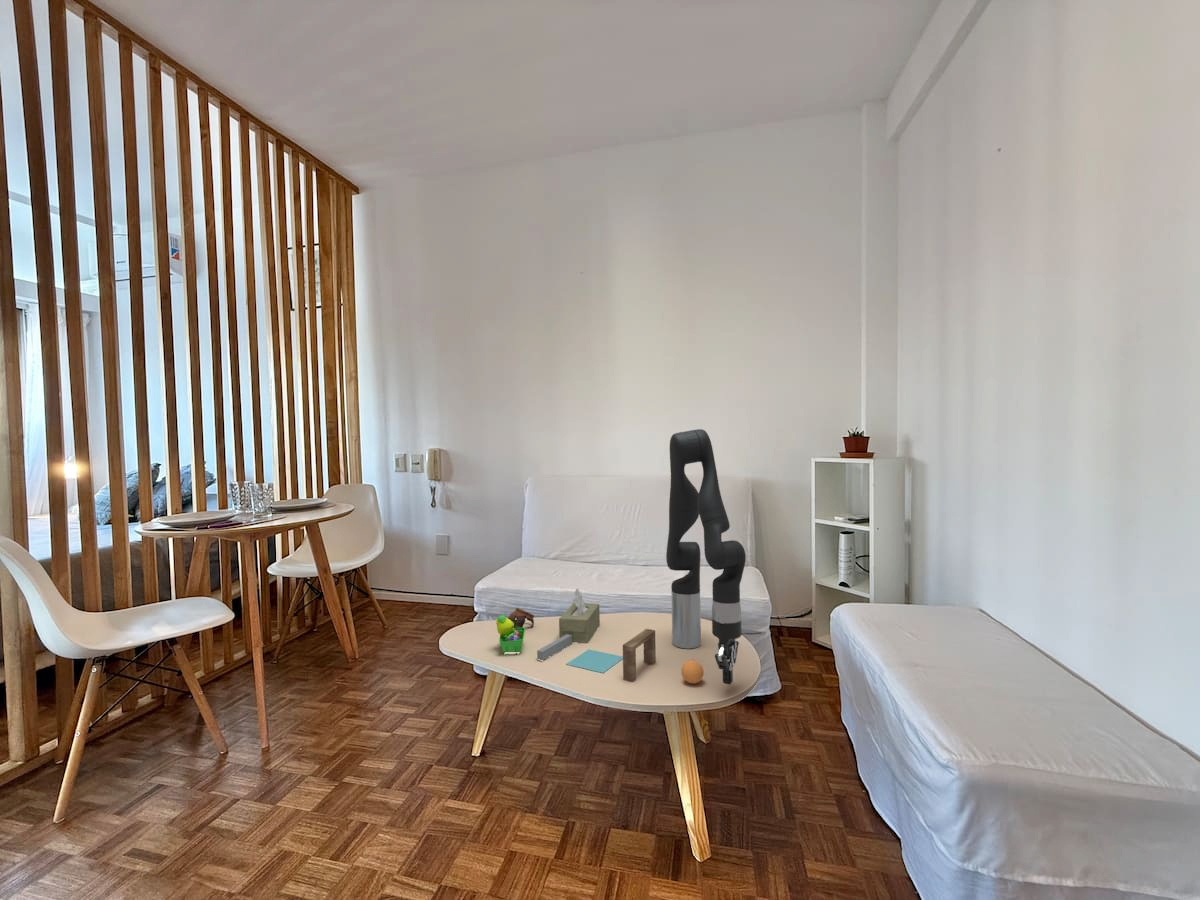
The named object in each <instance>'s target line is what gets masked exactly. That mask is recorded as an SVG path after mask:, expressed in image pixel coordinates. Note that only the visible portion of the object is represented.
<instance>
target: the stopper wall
mask: <svg viewBox="0 0 1200 900" xmlns="http://www.w3.org/2000/svg"><path fill="white" fill-rule="evenodd" d="M571 644H572V645H573V643H572V635H568V634H566V635H564V636H563V637H561V638H560V637H559V638H558V639H555V640H553V641H551V642H549V643H548V644H547V645H545V646H543V647H541V648H539V649H538V650H536V657H537V658H536V659H540V660H544V659H546V658H548V657H549V656H551V655H553V654H555V653H556V654H558V653H560V652H561V651H563V650H565V649H566V647H567V646H568V647H570V646H572V645H571ZM569 645H570V646H569ZM568 647H567V648H568ZM564 648H565V649H564ZM562 649H563V650H562ZM560 650H561V651H560ZM559 651H560V652H559ZM557 652H558V653H557ZM556 654H555V655H556ZM553 656H554V655H553ZM551 657H552V656H551ZM548 659H549V658H548ZM546 660H547V659H546Z"/></svg>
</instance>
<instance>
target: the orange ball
mask: <svg viewBox="0 0 1200 900" xmlns="http://www.w3.org/2000/svg"><path fill="white" fill-rule="evenodd" d="M680 671H681V676H682V678H683V680H685V682H687V683H689V684H698V683H699V682H701V681H702V679H703V677H704V668H703V665H702V664H701V663H700V662H699V661H697V660H694V659H689V660H687V661H685V662H684V663H683V664H682V665H681V670H680Z"/></svg>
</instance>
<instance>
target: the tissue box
mask: <svg viewBox="0 0 1200 900" xmlns="http://www.w3.org/2000/svg"><path fill="white" fill-rule="evenodd" d="M574 596H575V597H574V598H573V599H572V602H573V603H572V604H571V605H570V606H569V607H568V608H567V609H566V610H565V612H564V613H563V614H562V615H561V616H560V617H559V618H558V623H559V625H558V627H559V628H558V631H559V638H561V637H563V636H564V635H566V634H568V635H572V642H577V643H576V644H589V642H590V641H591V639H592V638H593V636H594V635H595V633H596V632H597V630H598V629H597V628H600V626H599V625H600V618H601V617H600V616H601V615H600V603H594V602H593V603H590V602H588V603H587V602H584V599H583V595H582V593H581V591H580V590H579V588H578V587H577V588H576V589H575V591H574Z"/></svg>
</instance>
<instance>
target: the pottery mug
mask: <svg viewBox="0 0 1200 900" xmlns="http://www.w3.org/2000/svg"><path fill="white" fill-rule="evenodd" d="M534 617H535V615H534V614H532V613H531V612H528V611H525V610H523V609H521V608H519V607H516V608H515V610H514V611H512V612H511V613H510V614H509V616H508V617H507V618H508V619H510V620H511V621H512V622H513V623H514V627H513V628H524V624H525V622H526V620H527V621H529V622H531V628H532V627H533V628H534V626H535V620H534Z"/></svg>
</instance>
